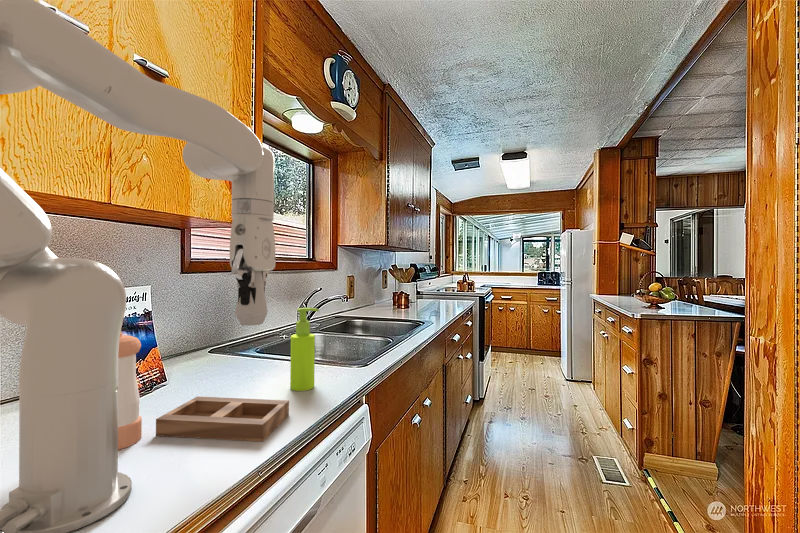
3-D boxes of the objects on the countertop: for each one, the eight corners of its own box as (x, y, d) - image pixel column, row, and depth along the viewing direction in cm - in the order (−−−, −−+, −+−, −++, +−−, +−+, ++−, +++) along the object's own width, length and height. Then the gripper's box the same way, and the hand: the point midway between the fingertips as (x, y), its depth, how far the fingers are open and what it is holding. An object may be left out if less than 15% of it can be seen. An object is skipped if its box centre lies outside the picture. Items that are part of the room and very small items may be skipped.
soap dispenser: (320, 389, 96) (320, 308, 96) (291, 392, 94) (291, 309, 94) (316, 382, 102) (317, 306, 101) (289, 384, 99) (290, 307, 99)
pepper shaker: (78, 448, 64) (78, 334, 64) (120, 430, 71) (120, 327, 71) (111, 454, 62) (112, 336, 62) (151, 435, 69) (152, 329, 69)
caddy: (262, 441, 67) (262, 424, 67) (155, 435, 69) (155, 419, 69) (288, 415, 79) (289, 400, 79) (197, 410, 81) (197, 396, 81)
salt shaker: (256, 326, 70) (257, 255, 70) (228, 325, 71) (229, 255, 71) (273, 322, 76) (273, 256, 76) (246, 321, 77) (247, 256, 77)
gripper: (251, 204, 65) (250, 313, 65) (288, 217, 82) (287, 304, 82) (209, 205, 66) (208, 312, 66) (254, 217, 82) (252, 303, 82)
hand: (251, 306), depth 74 cm, fingers closed on salt shaker, 3 cm apart
